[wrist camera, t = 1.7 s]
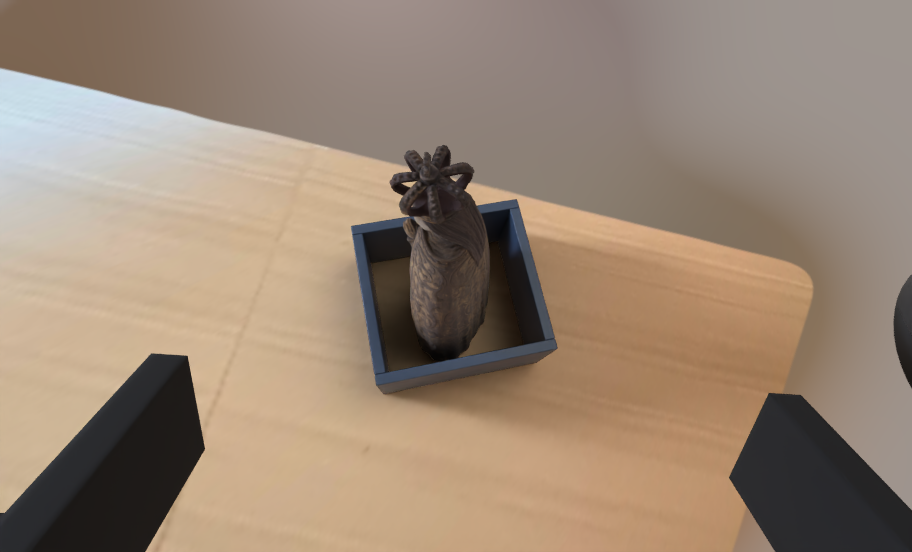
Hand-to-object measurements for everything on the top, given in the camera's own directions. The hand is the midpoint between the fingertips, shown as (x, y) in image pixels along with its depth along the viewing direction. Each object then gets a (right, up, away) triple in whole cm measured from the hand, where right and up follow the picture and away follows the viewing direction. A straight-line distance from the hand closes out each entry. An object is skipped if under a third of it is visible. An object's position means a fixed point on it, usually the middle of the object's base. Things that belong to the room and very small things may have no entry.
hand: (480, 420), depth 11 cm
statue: (-1, 0, +33) cm, 33 cm away
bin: (-1, 0, +33) cm, 33 cm away
